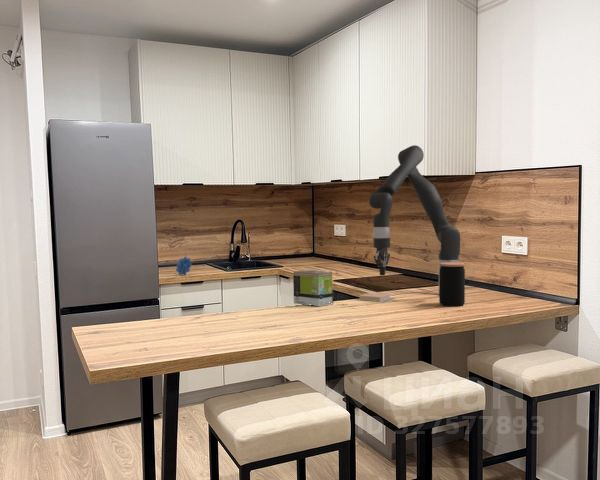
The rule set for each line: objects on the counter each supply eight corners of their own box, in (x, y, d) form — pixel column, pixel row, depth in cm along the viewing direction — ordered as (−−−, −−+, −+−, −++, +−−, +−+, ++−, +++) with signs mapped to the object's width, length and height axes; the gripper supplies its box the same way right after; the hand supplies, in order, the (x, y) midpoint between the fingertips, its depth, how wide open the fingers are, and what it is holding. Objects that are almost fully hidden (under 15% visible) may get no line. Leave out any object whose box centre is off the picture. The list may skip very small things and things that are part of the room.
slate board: (396, 301, 255) (396, 298, 255) (383, 305, 243) (383, 302, 243) (369, 299, 263) (369, 295, 263) (354, 303, 251) (354, 299, 251)
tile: (389, 294, 253) (379, 297, 245) (389, 298, 253) (379, 301, 245) (369, 292, 259) (359, 295, 250) (369, 297, 259) (359, 300, 251)
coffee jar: (466, 303, 247) (466, 262, 246) (462, 307, 238) (462, 264, 237) (441, 302, 252) (441, 262, 251) (437, 305, 242) (437, 264, 241)
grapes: (187, 273, 380) (187, 256, 380) (193, 274, 376) (193, 256, 375) (172, 275, 372) (172, 257, 372) (178, 276, 367) (178, 257, 367)
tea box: (333, 304, 249) (332, 271, 248) (318, 307, 242) (317, 272, 241) (307, 301, 259) (307, 268, 258) (292, 303, 252) (292, 270, 251)
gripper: (383, 237, 248) (384, 277, 249) (395, 236, 259) (396, 273, 260) (367, 237, 252) (368, 276, 253) (380, 236, 263) (381, 273, 264)
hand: (382, 275), depth 256 cm, fingers closed
